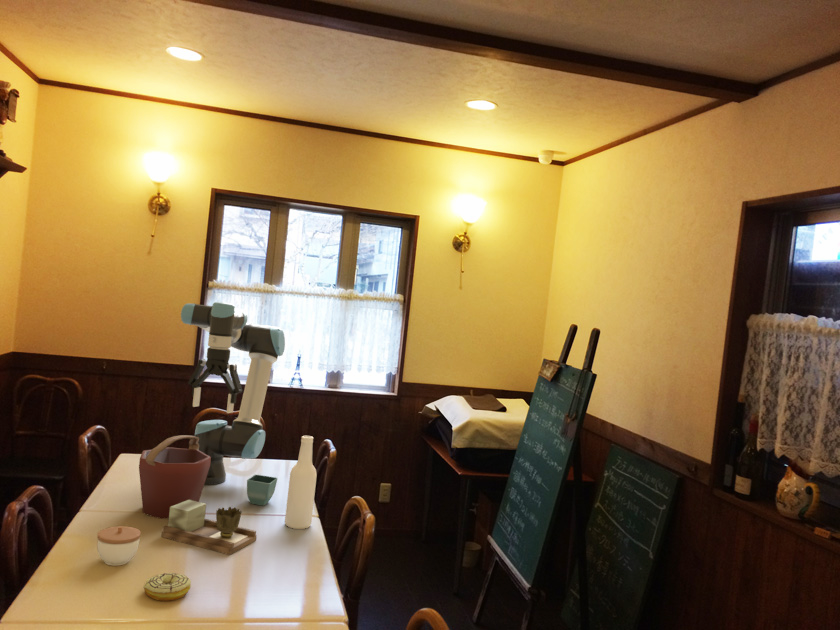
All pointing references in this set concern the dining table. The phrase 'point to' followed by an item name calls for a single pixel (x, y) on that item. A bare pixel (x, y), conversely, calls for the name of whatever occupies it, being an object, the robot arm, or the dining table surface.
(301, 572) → the dining table surface
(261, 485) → the flower pot
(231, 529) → the cup
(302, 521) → the alcohol
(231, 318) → the robot arm
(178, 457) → the bucket
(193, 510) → the brown wooden tray
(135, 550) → the lidded jar
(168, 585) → the decorated donut
